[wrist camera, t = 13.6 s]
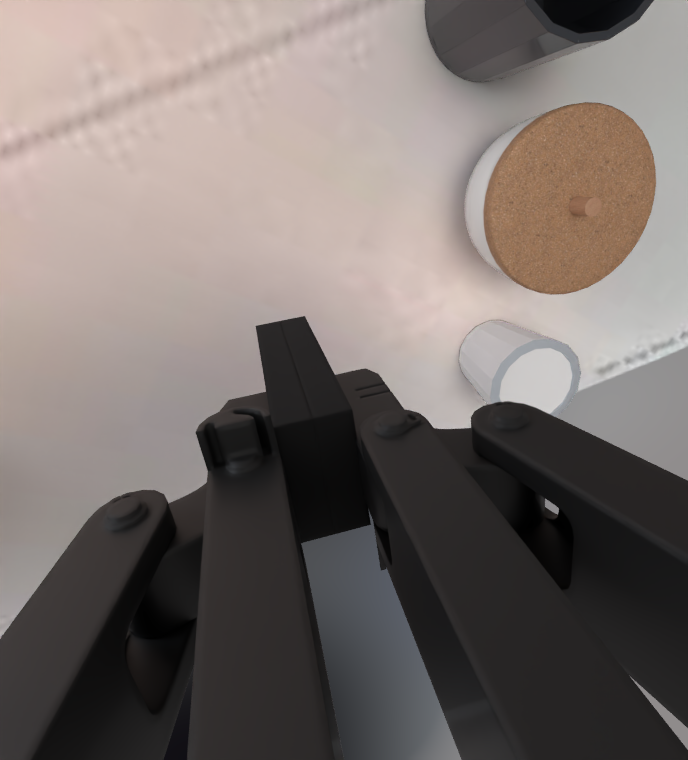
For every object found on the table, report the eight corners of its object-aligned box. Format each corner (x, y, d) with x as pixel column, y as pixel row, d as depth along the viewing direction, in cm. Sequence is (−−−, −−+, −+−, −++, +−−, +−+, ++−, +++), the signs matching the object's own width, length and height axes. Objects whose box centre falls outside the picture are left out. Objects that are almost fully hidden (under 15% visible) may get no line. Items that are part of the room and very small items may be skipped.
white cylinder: (527, 303, 40) (582, 328, 33) (530, 379, 42) (581, 415, 36) (447, 323, 39) (487, 353, 33) (455, 399, 42) (494, 440, 35)
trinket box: (604, 191, 37) (711, 196, 29) (504, 300, 39) (576, 335, 31) (518, 79, 33) (614, 46, 25) (411, 207, 35) (465, 218, 26)
